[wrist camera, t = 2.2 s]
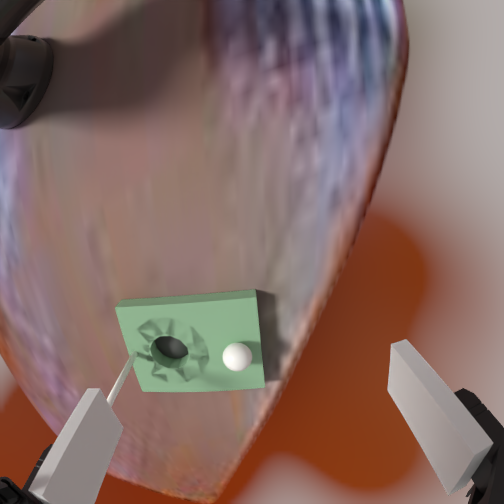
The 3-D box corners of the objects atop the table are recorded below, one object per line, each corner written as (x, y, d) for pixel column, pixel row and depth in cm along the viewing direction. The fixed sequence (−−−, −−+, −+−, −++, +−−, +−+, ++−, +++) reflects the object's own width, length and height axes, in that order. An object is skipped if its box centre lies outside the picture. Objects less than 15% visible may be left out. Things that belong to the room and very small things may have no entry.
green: (131, 380, 40) (96, 458, 24) (105, 300, 37) (43, 367, 21) (263, 376, 41) (273, 466, 25) (255, 289, 37) (264, 369, 21)
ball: (225, 361, 37) (224, 378, 33) (221, 338, 36) (219, 354, 32) (252, 359, 37) (254, 375, 33) (250, 336, 36) (251, 351, 32)
